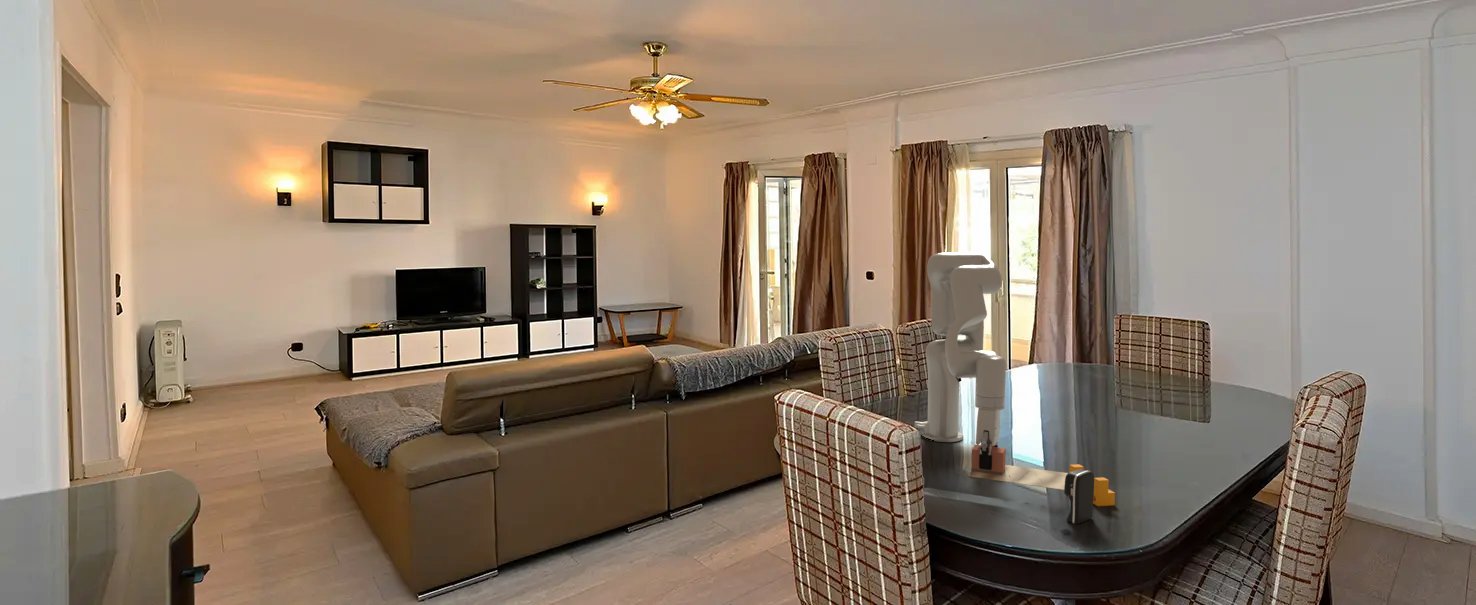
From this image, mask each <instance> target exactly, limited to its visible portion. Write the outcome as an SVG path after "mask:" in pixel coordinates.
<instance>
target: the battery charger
mask: <svg viewBox="0 0 1476 605" xmlns="http://www.w3.org/2000/svg"><path fill="white" fill-rule="evenodd" d="M1067 473H1068V474H1067V475H1066V477H1065V486H1064V490H1063V492H1064V495H1065V496H1066V495H1067V497H1068V500H1069V501H1070V512H1069V514H1068V516H1066V518H1065V519H1066V521H1067V522H1070V523H1072V524H1076V525H1079V524H1081V523H1084V522H1087V521H1089V520H1090V519H1091V520H1092V518H1093V516H1094V515H1093V514H1094V512H1093V511H1094V504H1093V498H1094V478H1095V474H1094V473H1093V472H1092V471H1091V470H1085V469H1084V470H1083V469H1078V470H1075V471H1072V472H1070V471H1069V472H1067Z"/></svg>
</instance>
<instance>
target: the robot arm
mask: <svg viewBox="0 0 1476 605" xmlns="http://www.w3.org/2000/svg"><path fill="white" fill-rule="evenodd" d="M926 272H927V273H926V275H927V278H928V282H929V284H930V290H931V310H930V311H931V312H930V313H931V316H930V317H931V322H930V323H931V330H932V332H933V333H934V334H935V335H938V336H945V338H944V339H934V340H932V341H931V342H929V343H928V344H927V345H926V347H925V359H926V365H927V367H926V368H927V388H928V389H927V421H923V422H922V421H914V428H916V429H917V428H918V430H923V431H922V434H923V435H922V437H923V436H924V437H926V438H929V439H931V440H930V441H932V440H934V441H933V442H939V443H955V442H960V441H962V440H963V439H964V434H963V433H962V432H960V431H959V412H960V411H959V406H960V405H959V404H960V400H959V399H960V395H959V394H960V384H959V381H958V379H970V378H971V379H972V378H973V379H975V390H974V391H975V392H974V393H975V394H974V396H975V400H974V402H975V403H974V407H975V408H977V409H978V410H977V416H976V417H977V418H976V431H975V432H976V433H975V445H981V447H980V454H979V468H980V469H985V470H991V469H992V455H991V451H992V447H999V445H998V443H999V442H998V441H999V438H1000V433H1001V432H1000V431H1001V430H1000V429H1001V410H1004V409H1005V407H1006V406H1005V405H1006V375H1007V374H1006V373H1007V372H1006V371H1007V364H1006V363H1007V362H1006V359H1005V358H1004V357H1003V356H1000V355H999V354H998V352H996V351H993V350H984V330H985V325H984V324H985V321H984V320H985V319H986V318H987V315H988V310H987V307H986V303H985V302H986V301H985V297H984V295H987V294H988V295H989V294H991V295H992V294H994V295H995V294H997V293H999V291H1001V288H1002V284H1003V281H1002V280H1003V279H1002V274H1001V271H1000V270H999V267H997V265H996V264H995V263H994V261H992V260H991V259H990V258H989V257H988V255H986V254H985V253H983V252H978V251H977V252H976V251H968V252H964V251H963V252H962V251H961V252H959V251H958V252H957V251H953V252H951V251H950V252H947V251H946V252H938V253H935V254H933V255H931V256H930V257H928V260H927V266H926ZM959 336H965V338H963V339H958V337H959ZM924 437H923V438H924ZM926 438H925V439H926ZM988 447H989V448H988Z"/></svg>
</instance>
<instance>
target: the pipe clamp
mask: <svg viewBox="0 0 1476 605" xmlns="http://www.w3.org/2000/svg"><path fill="white" fill-rule="evenodd" d="M1078 469H1083V470H1085V467H1084V466H1083V465H1081V464H1077V463H1075V464H1069V472H1072V471H1075V470H1078ZM1109 484H1110V480H1109V479H1107V478H1106V477H1103V476H1101V477H1094V498H1093V505H1095V506H1096V507H1106V506H1107V507H1108V506H1115V504H1116V503H1115V502H1116V501H1115V500H1116V492H1114V491H1112V490H1111V489H1109V487H1110V486H1109Z"/></svg>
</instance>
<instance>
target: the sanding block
mask: <svg viewBox="0 0 1476 605" xmlns="http://www.w3.org/2000/svg"><path fill="white" fill-rule="evenodd" d="M980 447H981V444H979V445H977V444H974V445H973V447H972V448H971V462H970V463H971V467H970V469H971V471H975V472H982V473H989V474H996V475H1003V473H1004V471H1005V465H1006V458H1007V457H1006V455H1007V451H1006V450H1007V448H1006V447H999V446H998V447H992V451H991V455H992V469H991V470H985V469H980V468H979V454H980ZM988 448H989V447H988ZM971 471H970V472H971Z"/></svg>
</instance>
